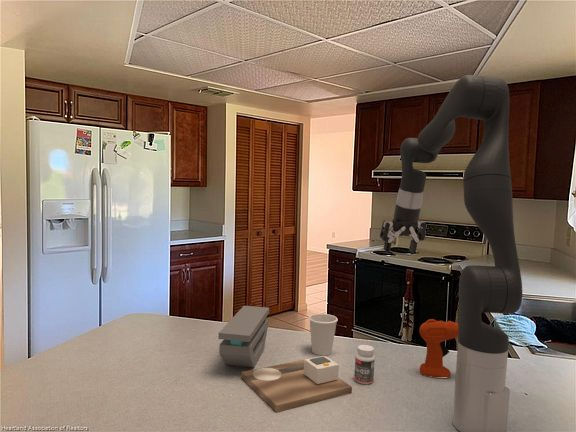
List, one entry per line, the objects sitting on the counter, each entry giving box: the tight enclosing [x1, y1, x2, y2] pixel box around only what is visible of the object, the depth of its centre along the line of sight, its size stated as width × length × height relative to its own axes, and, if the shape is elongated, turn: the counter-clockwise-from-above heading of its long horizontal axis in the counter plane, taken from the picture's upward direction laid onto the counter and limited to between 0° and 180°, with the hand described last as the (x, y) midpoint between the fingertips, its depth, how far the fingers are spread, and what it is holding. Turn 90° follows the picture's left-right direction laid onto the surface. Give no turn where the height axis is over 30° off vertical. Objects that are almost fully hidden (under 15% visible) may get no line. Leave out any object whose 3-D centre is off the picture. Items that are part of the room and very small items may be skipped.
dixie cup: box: [308, 313, 338, 356], centre depth 126 cm, size 8×8×10 cm
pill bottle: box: [353, 344, 376, 385], centre depth 108 cm, size 5×5×8 cm
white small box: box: [303, 355, 340, 384], centre depth 105 cm, size 6×6×4 cm
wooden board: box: [241, 359, 353, 413], centre depth 104 cm, size 18×20×2 cm
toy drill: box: [419, 318, 459, 378], centre depth 113 cm, size 5×19×15 cm, turn 80°
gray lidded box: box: [217, 305, 270, 369], centre depth 119 cm, size 25×8×11 cm, turn 171°
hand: (399, 252), depth 138 cm, fingers open, 8 cm apart
